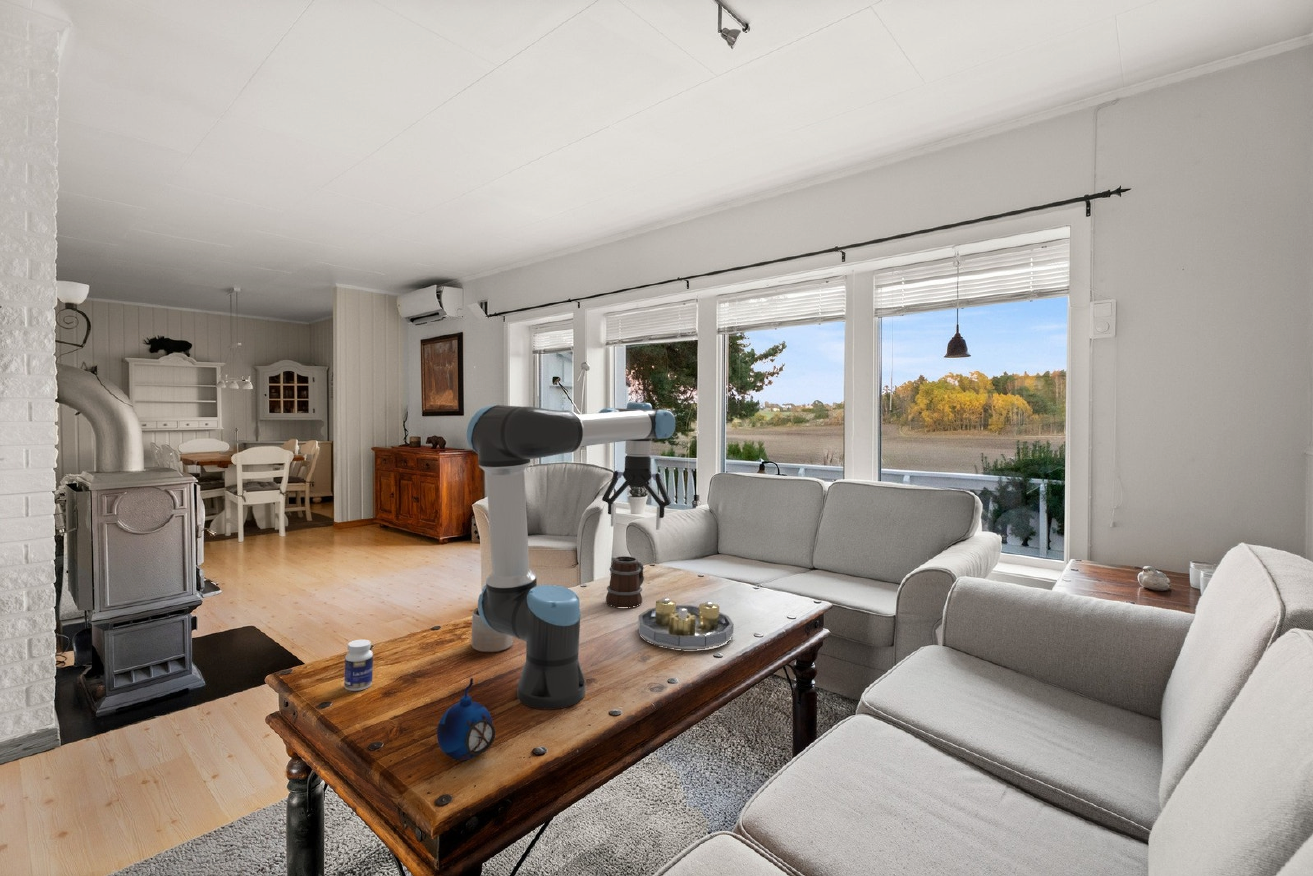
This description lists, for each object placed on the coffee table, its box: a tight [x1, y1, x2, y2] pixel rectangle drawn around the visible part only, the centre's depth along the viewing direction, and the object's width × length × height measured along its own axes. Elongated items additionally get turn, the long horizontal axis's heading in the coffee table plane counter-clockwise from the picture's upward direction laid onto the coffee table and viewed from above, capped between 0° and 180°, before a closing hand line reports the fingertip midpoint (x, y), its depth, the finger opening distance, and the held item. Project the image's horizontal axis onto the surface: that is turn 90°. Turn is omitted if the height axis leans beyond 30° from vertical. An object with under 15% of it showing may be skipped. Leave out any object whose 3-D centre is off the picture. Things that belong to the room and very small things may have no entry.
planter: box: [470, 607, 514, 654], centre depth 166 cm, size 11×11×10 cm
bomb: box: [436, 677, 497, 761], centre depth 113 cm, size 10×11×15 cm
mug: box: [605, 555, 645, 609], centre depth 208 cm, size 16×12×15 cm
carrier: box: [637, 597, 734, 650], centre depth 180 cm, size 27×27×10 cm
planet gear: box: [669, 612, 696, 636], centre depth 173 cm, size 7×7×6 cm
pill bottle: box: [343, 639, 374, 692], centre depth 140 cm, size 6×6×10 cm
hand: (635, 527), depth 182 cm, fingers open, 13 cm apart
